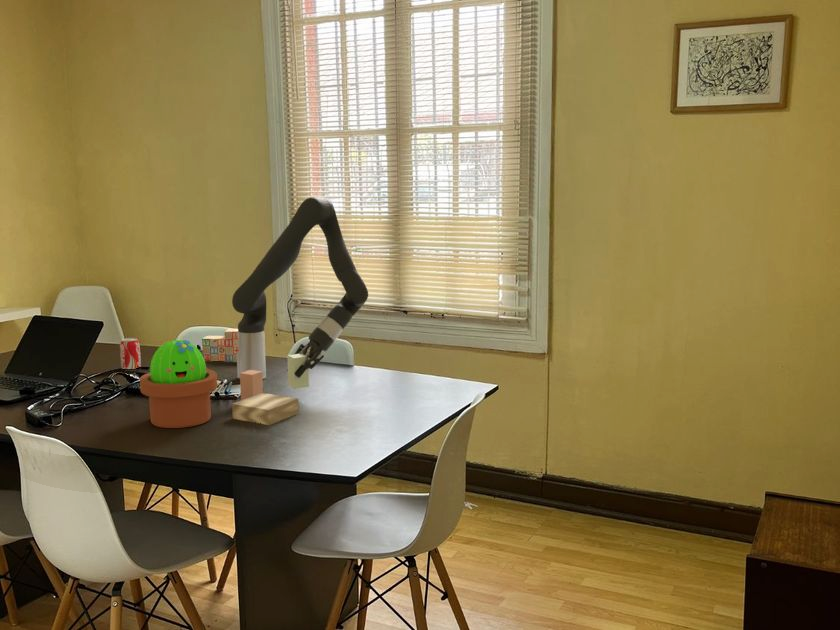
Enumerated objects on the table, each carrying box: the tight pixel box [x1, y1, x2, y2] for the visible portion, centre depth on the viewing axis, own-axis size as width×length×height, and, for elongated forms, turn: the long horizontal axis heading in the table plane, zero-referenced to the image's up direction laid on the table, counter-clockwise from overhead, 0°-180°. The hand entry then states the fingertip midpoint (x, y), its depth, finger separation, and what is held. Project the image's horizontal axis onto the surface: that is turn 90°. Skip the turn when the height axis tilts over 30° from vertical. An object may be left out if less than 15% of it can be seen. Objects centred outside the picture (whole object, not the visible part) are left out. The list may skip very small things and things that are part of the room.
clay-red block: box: [239, 370, 264, 401], centre depth 270 cm, size 5×5×10 cm
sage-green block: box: [286, 353, 310, 390], centre depth 271 cm, size 5×5×10 cm
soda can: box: [119, 337, 142, 370], centre depth 313 cm, size 7×7×12 cm
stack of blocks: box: [201, 328, 239, 363], centre depth 330 cm, size 21×6×12 cm, turn 85°
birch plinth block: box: [231, 392, 300, 426], centre depth 255 cm, size 14×14×5 cm
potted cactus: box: [139, 338, 218, 429], centre depth 249 cm, size 22×22×25 cm
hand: (292, 374), depth 271 cm, fingers closed on sage-green block, 5 cm apart
